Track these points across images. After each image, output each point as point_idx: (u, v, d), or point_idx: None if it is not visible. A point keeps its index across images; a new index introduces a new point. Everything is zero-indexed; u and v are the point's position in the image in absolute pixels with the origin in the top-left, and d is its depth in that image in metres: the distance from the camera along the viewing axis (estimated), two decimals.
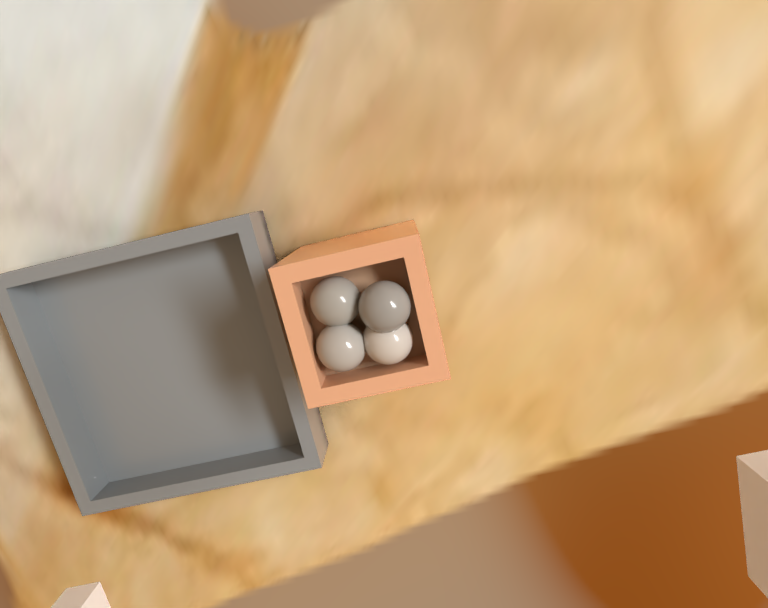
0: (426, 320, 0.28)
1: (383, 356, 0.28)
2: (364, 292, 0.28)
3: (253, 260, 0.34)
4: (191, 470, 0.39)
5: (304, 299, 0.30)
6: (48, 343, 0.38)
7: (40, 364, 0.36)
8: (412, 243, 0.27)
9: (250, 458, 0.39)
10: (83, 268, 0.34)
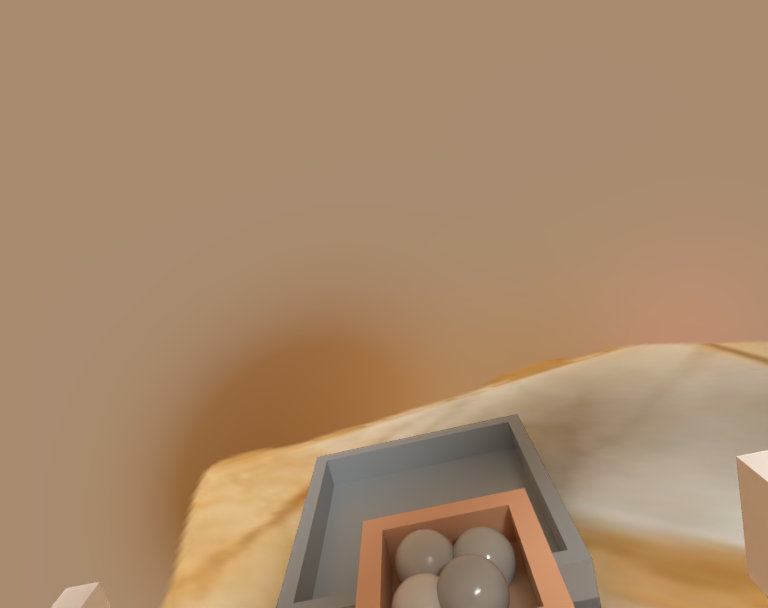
0: None
1: (405, 582, 0.21)
2: None
3: None
4: (321, 528, 0.40)
5: None
6: (461, 451, 0.46)
7: (445, 439, 0.46)
8: None
9: (311, 571, 0.36)
10: (524, 454, 0.40)
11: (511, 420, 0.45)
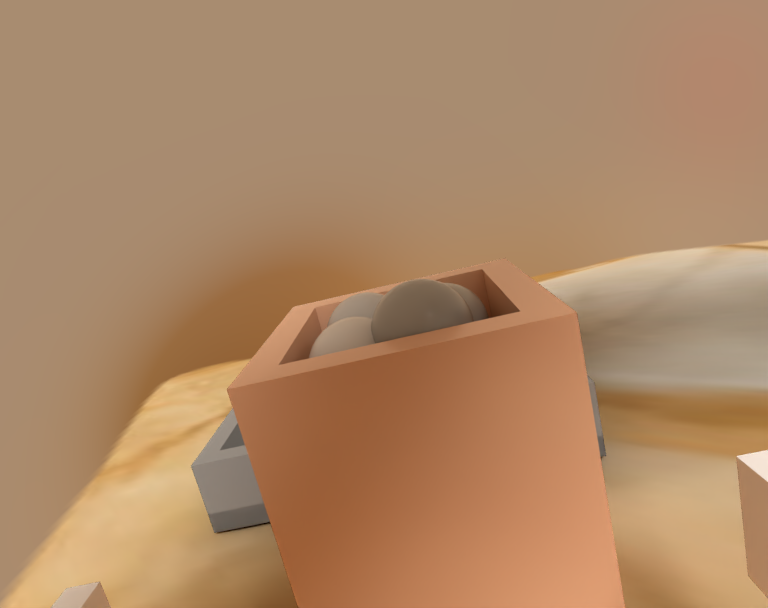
0: (375, 348, 0.12)
1: (330, 326, 0.15)
2: None
3: None
4: None
5: None
6: None
7: None
8: (552, 311, 0.12)
9: None
10: None
11: None
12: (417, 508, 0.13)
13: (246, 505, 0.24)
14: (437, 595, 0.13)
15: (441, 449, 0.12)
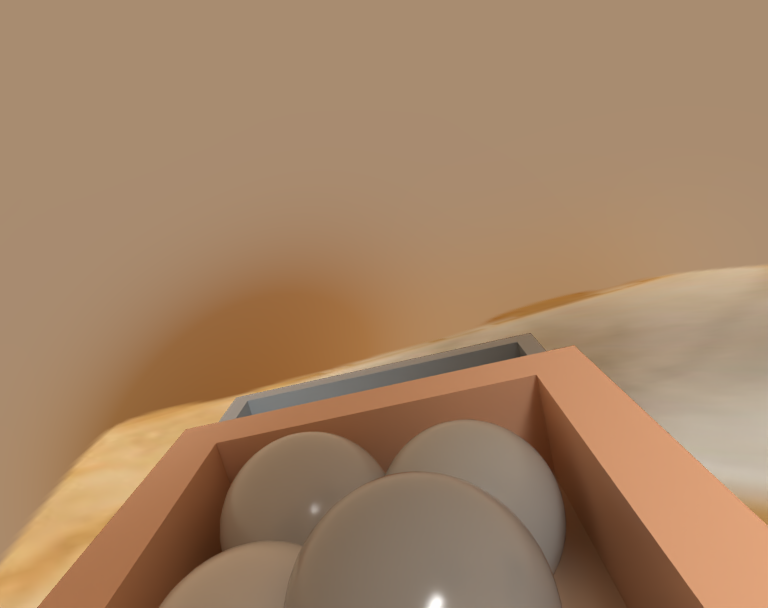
0: None
1: (195, 571, 0.06)
2: None
3: None
4: None
5: None
6: None
7: (423, 368, 0.31)
8: None
9: None
10: None
11: (522, 340, 0.30)
12: None
13: None
14: None
15: None
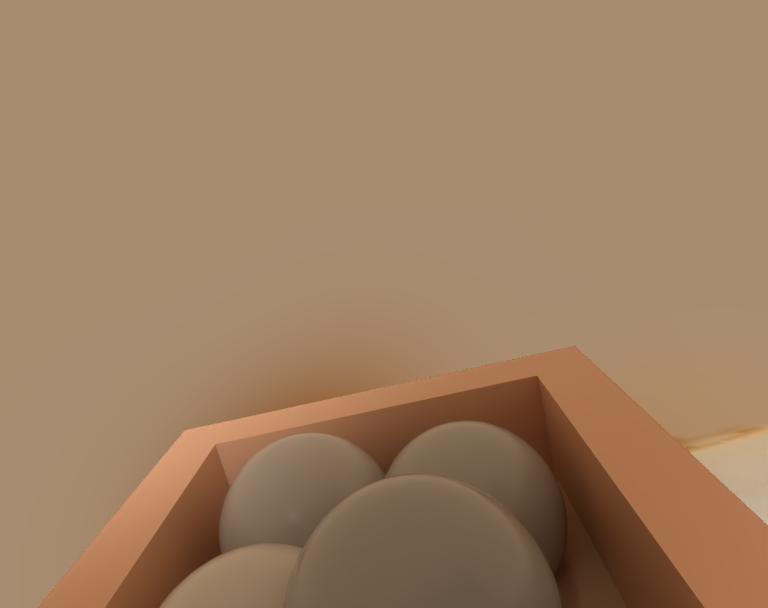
0: None
1: (193, 574, 0.06)
2: None
3: None
4: None
5: None
6: None
7: None
8: None
9: None
10: None
11: None
12: None
13: None
14: None
15: None
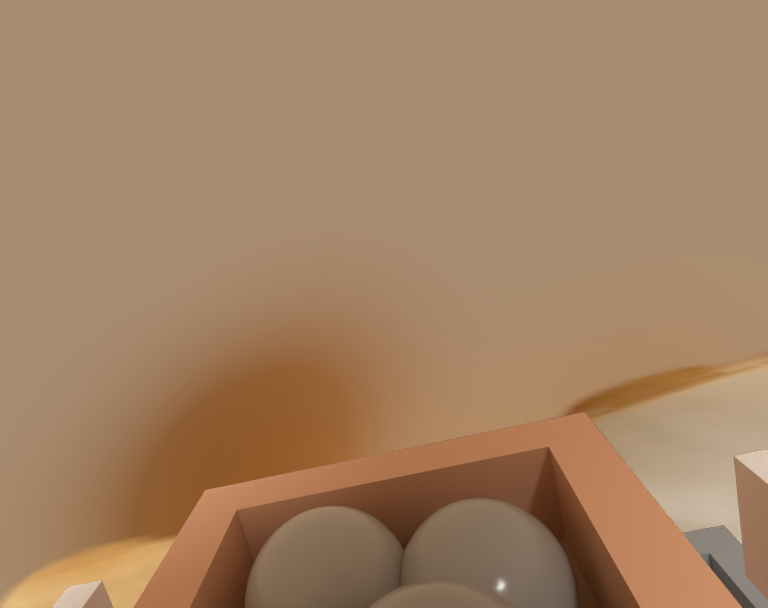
0: None
1: None
2: None
3: None
4: None
5: None
6: None
7: None
8: None
9: None
10: None
11: (717, 548, 0.16)
12: None
13: None
14: None
15: None
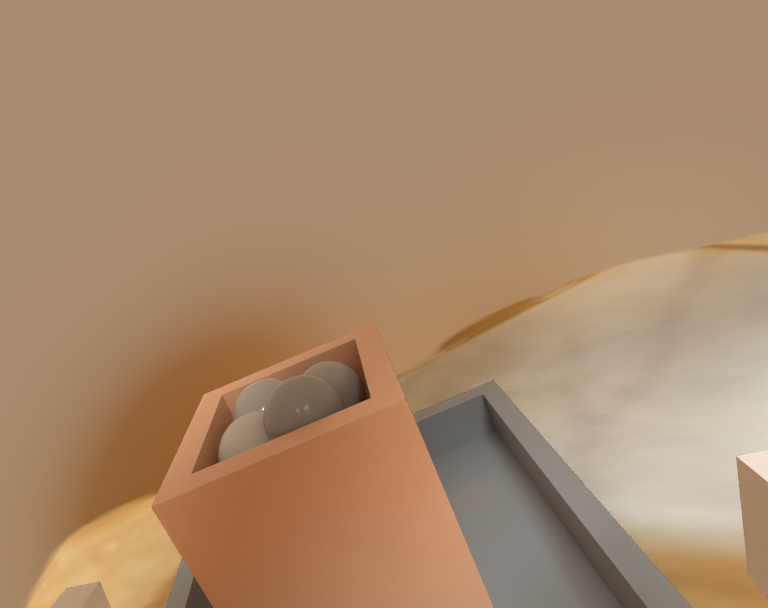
0: (264, 449, 0.16)
1: (231, 423, 0.19)
2: None
3: None
4: None
5: None
6: None
7: None
8: (390, 398, 0.16)
9: None
10: (522, 442, 0.24)
11: (487, 391, 0.30)
12: (320, 560, 0.17)
13: None
14: None
15: (328, 514, 0.16)
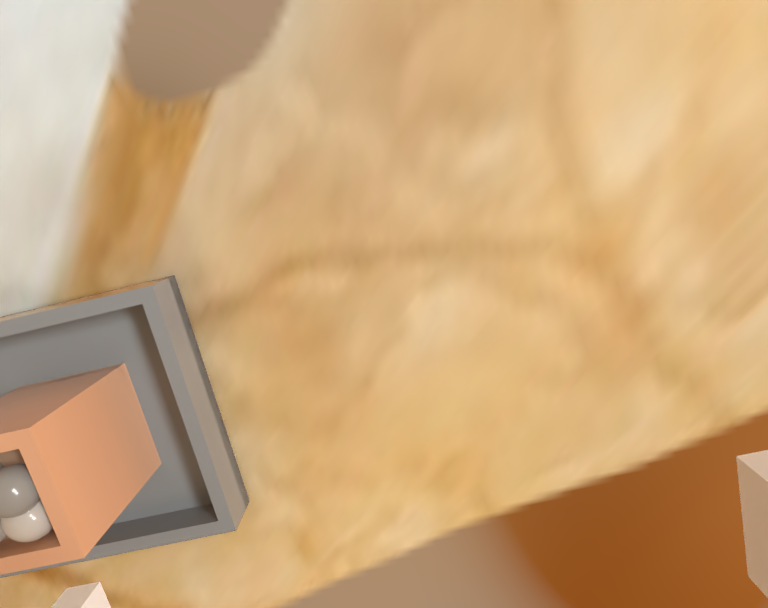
0: (51, 505, 0.29)
1: (13, 538, 0.29)
2: None
3: (158, 330, 0.34)
4: (110, 530, 0.39)
5: None
6: None
7: None
8: (24, 436, 0.28)
9: (168, 519, 0.39)
10: None
11: None
12: (100, 463, 0.32)
13: (238, 487, 0.39)
14: (121, 444, 0.35)
15: (81, 462, 0.31)
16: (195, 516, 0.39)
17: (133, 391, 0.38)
